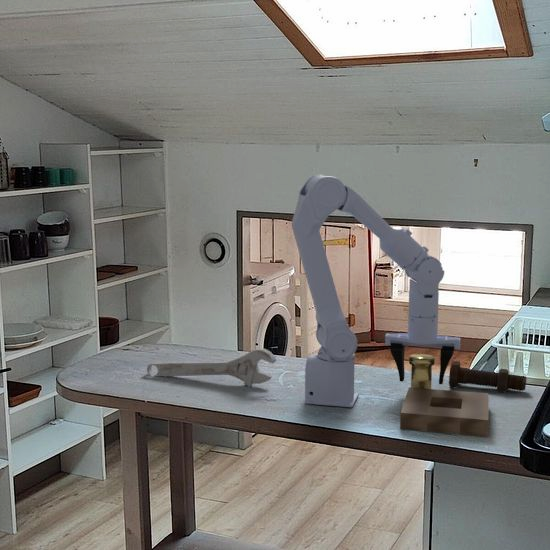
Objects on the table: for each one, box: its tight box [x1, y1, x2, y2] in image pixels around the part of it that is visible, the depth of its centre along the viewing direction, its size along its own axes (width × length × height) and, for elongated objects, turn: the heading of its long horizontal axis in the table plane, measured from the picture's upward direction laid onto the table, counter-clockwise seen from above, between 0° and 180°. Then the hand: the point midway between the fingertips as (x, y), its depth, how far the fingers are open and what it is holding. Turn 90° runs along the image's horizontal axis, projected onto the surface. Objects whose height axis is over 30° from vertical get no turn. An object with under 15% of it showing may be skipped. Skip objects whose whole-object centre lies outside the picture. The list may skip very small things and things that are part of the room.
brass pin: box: [408, 353, 436, 389], centre depth 157 cm, size 5×5×8 cm
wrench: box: [146, 347, 277, 387], centre depth 168 cm, size 8×2×30 cm
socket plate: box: [399, 386, 490, 437], centre depth 145 cm, size 15×15×3 cm
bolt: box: [448, 360, 527, 393], centre depth 162 cm, size 6×5×15 cm
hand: (421, 381), depth 158 cm, fingers open, 7 cm apart
